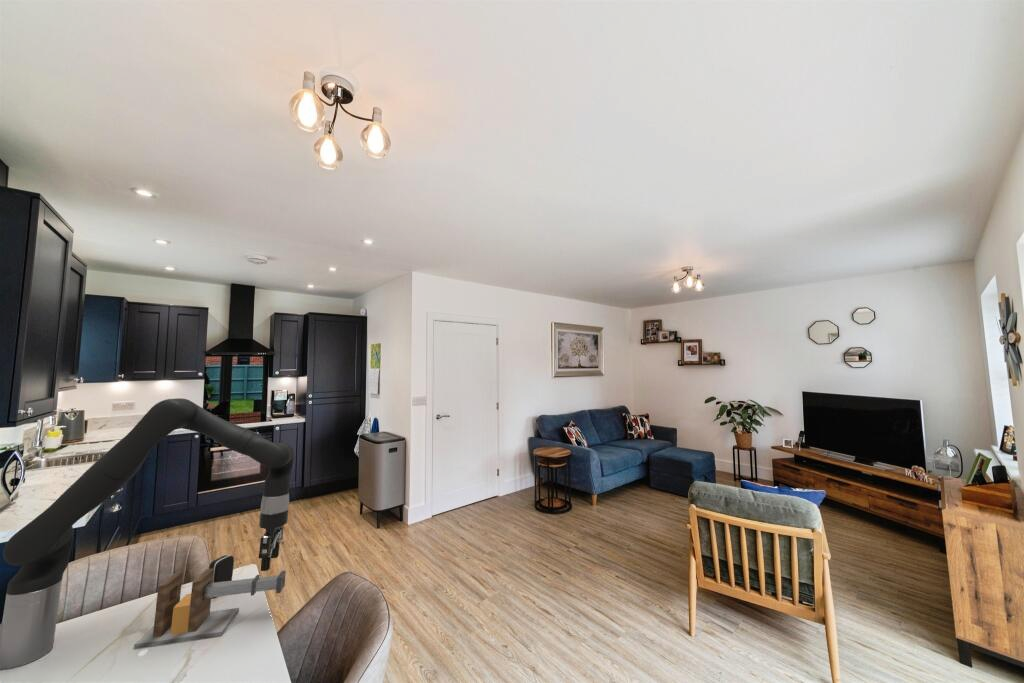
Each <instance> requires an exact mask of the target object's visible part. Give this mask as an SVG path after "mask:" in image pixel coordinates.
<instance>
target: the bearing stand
mask: <svg viewBox="0 0 1024 683" xmlns="http://www.w3.org/2000/svg"><path fill="white" fill-rule="evenodd" d="M213 574H214V568H212V569H209V568H206V569H205V570H204V571H202V572H201V573H200V575H199V576H198V577H196V578H195V579H194V580H193V581H192V584H191V593H190V594H191V602H190V612H189V622H188V632H183V633H177V634H171V627H172V617H173V608H174V607H175V606H176V604H177V603H178V602H179V601H180V600H181V592H182V582H183V571H177V572H174V573H173V574H171V575H170V576H168V577H167V578H166V579H165V580H164V581H162V582H161V583H160V584H158V586H157V593H156V594H157V595H156V604H155V605H156V606H155V613H154V622H153V623H154V624H153V626H151V628H149V629H148V631H147V632H145V633H144V634H143V635H142V636H141V637H140V638H139V639H137V641H136V642H135V643H134V644H133V650H139V649H145V648H151V647H156V646H157V647H158V646H164V645H172V644H177V643H179V644H180V643H184V642H185V643H186V642H190V641H191V642H193V641H200V640H205V639H206V640H207V639H213V638H218V637H223V635H224V633H225V632H226V631H227V629H228V628H229V627H230V624H232V622H233V620H234V619H235V618H236V617H237V615H238V614H239V612H240V607H236V608H235V607H233V608H225V609H218V610H211V604H212V598H203V588H204V586H205V585H206V584H208V583H213ZM202 598H203V599H202Z"/></svg>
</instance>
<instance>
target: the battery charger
mask: <svg viewBox="0 0 1024 683" xmlns="http://www.w3.org/2000/svg"><path fill="white" fill-rule="evenodd" d="M234 563H235V557H234V555H232V554H229V555H227V554H226V555H225V554H224V555H222V556H221V557H217V559H214V560H212V561H211V562H210V564H209V567H208V569H212V568H214V574H213V583H216V582H225V581H233V574H234V566H235V565H234ZM215 598H216V597H211V599H215Z"/></svg>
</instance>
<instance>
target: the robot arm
mask: <svg viewBox="0 0 1024 683" xmlns="http://www.w3.org/2000/svg"><path fill="white" fill-rule="evenodd" d="M181 429H183V430H187V431H192V432H195V433H199V434H201V435H204V436H206V437H208V438H209V439H212V440H213V441H215V442H216V443H218V444H219V445H221V446H222V447H224V448H227V449H228V450H230V451H234V452H236V453H239V454H241V455H244V456H247V457H250V458H251V459H252V460H254V461H256V462H257V463H259V464H260V465H262V466H265V467H267V468H268V472H267V476H266V477H265V479H264V482H263V490H262V498H261V502H260V503H261V504H260V512H259V522H258V526H259V528H261V529H264V530H265V531H264V533H263V536H261V537H260V539H259V540H260V542H259V552H258V559H261V561H260V562H261V563H260V571H261V572H266V571H267V572H268V570H270V569H271V568H270V567H271V559H277V558H278V557H279V556H280V545H281V543H282V540H283V539H284V526H285V525H287V523H288V520H289V519H288V517H289V507H290V486H291V472H292V470H293V464H294V460H295V449H294V448H293V446H292V445H291V444H290V443H288V442H279V443H274V442H272V441H271V440H267V439H266V438H265V436H263V435H262V434H260V433H258V432H255V431H253V430H250V429H248V428H246V427H243V426H241V425H238V424H235V423H233V422H231V421H227V420H225V419H223V418H221V417H219V416H217V415H216V414H213V413H212V412H209V411H208V410H206V409H205V408H203V407H202V406H200V405H198V404H197V403H195V402H193V401H191V400H189V399H187V398H168V399H167V398H166V399H163V400H161V401H159V402H157V403H155V404H154V405H153V406H152V407H151V408H150V409H148V411H147V412H146V413H145V414H144V415H143V417H142V418H141V419H140V420H139V421H138V423H137V424H135V426H134V427H133V428H132V429H131V430H130V431H129V432H128V433H127V434H126V435H125V436H123V438H121V439H120V441H118V442H117V443H116V444H115V445H114V446H112V447H111V448H110V449H109V450H108V451H107V452H106V453H105V454H104V455H102V456H101V457H100V458H99V459H98V460H97V461H95V462H94V463H93V464H92V465H91V466H90V467H89V468H88V469H87V470H85V472H84V473H83V474H81V476H79V478H78V479H77V480H75V482H74V483H72V484H71V485H69V487H68V488H67V489H66V490H65V491H64V492H63V493H62V494H61V495H60V496H59V497H58V498H57V499H55V501H54V502H52V504H51V505H49V506H48V508H46V509H45V510H44V511H43V512H41V513H40V514H38V516H36V517H35V518H33V519H32V520H31V521H30V522H29V523H27V524H26V525H25V526H24V527H22V528H21V529H20V530H18V531H17V532H16V533H14V534H13V535H12V536H11V537H10V538H9V539H8V541H7V542H6V543H5V545H4V548H3V552H2V556H3V560H4V561H5V563H7V564H9V565H10V566H16V567H18V566H19V567H20V569H19V570H18V571H17V573H16V574H15V575H14V576H13V577H12V578H11V579H10V580H9V581H8V583H7V587H6V588H7V589H6V594H5V602H4V607H3V608H4V609H3V616H2V621H1V623H0V670H5V669H4V668H8V669H12V668H16V667H20V666H23V665H27V664H29V663H31V662H34V661H36V660H38V659H40V658H42V657H44V656H45V655H47V654H48V653H49V652H51V651H52V649H53V648H54V642H55V634H56V629H57V628H56V626H57V620H58V613H59V606H60V599H61V598H60V597H61V591H62V584H63V577H64V576H63V575H64V573H65V571H66V570H67V567H68V565H69V563H70V558H71V553H72V549H73V543H74V535H75V534H74V533H75V532H74V527H73V526H74V524H76V523H77V522H78V521H79V520H80V519H82V518H83V517H85V516H86V515H87V514H88V513H90V512H92V511H93V510H94V509H96V508H97V507H99V506H100V505H101V504H103V503H104V502H106V501H108V499H110V498H111V497H113V496H114V495H115V494H116V493H117V492H118V491H120V490H121V489H122V488H123V487H124V486H125V485H126V484H127V483H128V482H129V481H130V480H131V479H132V478H133V477H135V475H136V474H137V473H138V472H139V470H140V469H141V467H142V465H143V464H144V462H145V460H146V459H147V457H148V456H149V454H150V452H151V451H152V450H153V448H155V447H156V446H157V445H158V444H159V443H160V442H161V441H162V440H163V439H165V438H166V437H167V436H168V435H169V434H171V433H173V431H174V432H175V430H181Z"/></svg>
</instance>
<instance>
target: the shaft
mask: <svg viewBox="0 0 1024 683" xmlns="http://www.w3.org/2000/svg"><path fill="white" fill-rule="evenodd" d="M286 573H287V570H281V571H280V573H279V574H278V575H272V576H270V575H269V576H260V574H256V575H255V577H254V578H252V577H251V578H242V579H236V580H235V579H234V580H232V581H225V582H216V583H208V584H206V585H205V586H204V588H203V598H211V597H215V598H218V597H225V596H233V595H234V596H235V595H242V594H249V593H250V596H255V594H256V593H258V592H259V593H260V592H265V591H273V590H275V594H281V592H282V591H283V589H284V588H285V586H286V585H285V584H286ZM203 598H202V599H203ZM211 599H212V598H211Z"/></svg>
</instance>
